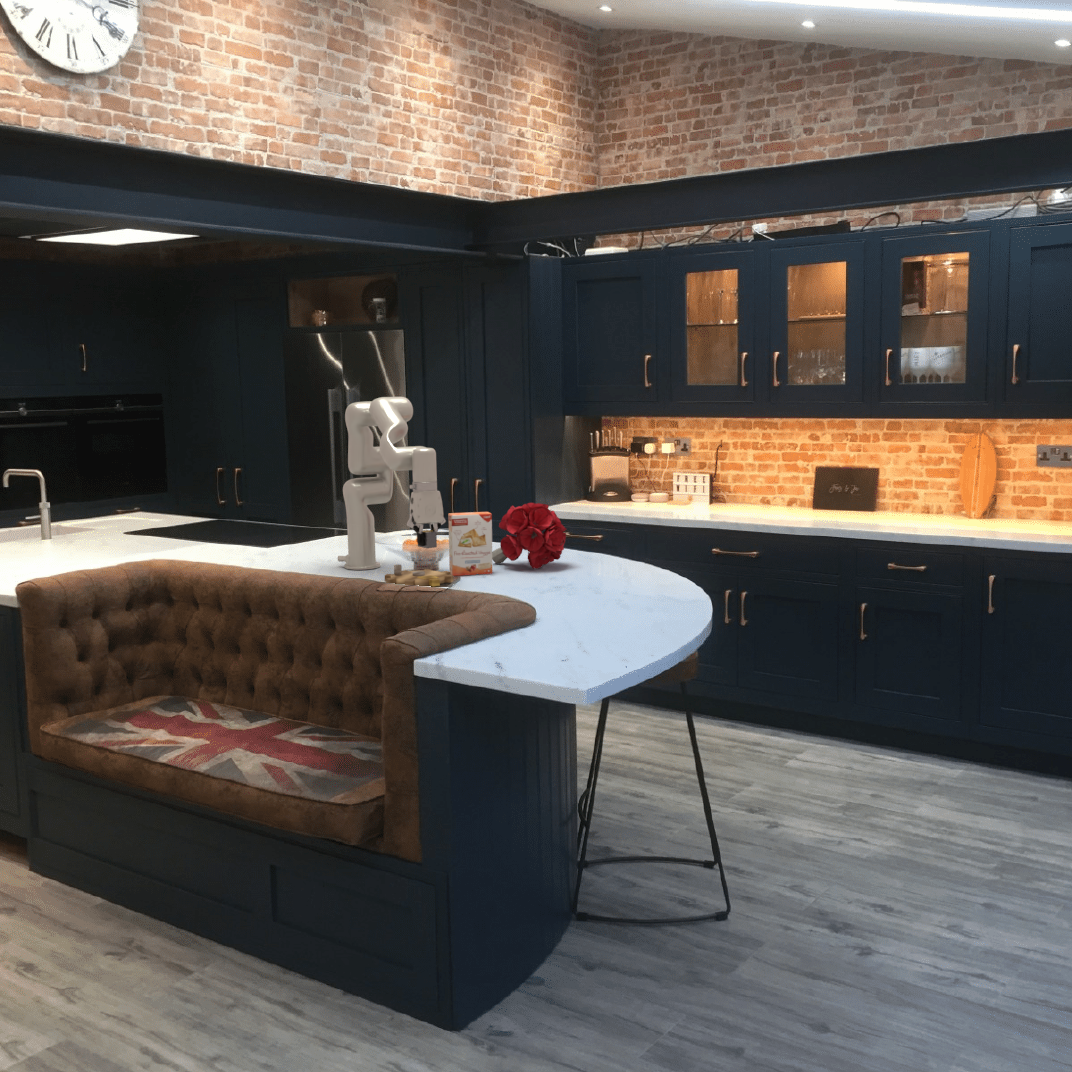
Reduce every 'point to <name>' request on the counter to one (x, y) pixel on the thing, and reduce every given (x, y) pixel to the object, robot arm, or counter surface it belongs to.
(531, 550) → the bouquet
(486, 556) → the cracker box
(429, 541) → the grey small block
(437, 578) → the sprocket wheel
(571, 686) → the counter surface
